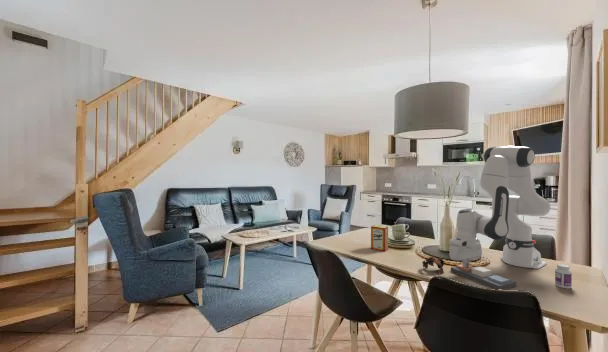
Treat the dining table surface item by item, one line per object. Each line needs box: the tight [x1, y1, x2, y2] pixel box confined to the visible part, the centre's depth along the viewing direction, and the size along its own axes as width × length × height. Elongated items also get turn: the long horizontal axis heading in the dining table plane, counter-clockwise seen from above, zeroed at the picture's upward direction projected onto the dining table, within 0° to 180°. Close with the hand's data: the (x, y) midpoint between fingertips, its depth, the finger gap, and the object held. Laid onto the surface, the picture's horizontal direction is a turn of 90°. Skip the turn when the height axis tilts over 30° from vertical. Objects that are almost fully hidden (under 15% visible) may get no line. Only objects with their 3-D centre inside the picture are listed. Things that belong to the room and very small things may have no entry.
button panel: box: [450, 265, 517, 290], centre depth 127 cm, size 12×24×2 cm, turn 22°
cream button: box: [472, 266, 492, 278], centre depth 127 cm, size 6×6×3 cm
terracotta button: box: [456, 264, 475, 272], centre depth 135 cm, size 6×6×3 cm
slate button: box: [488, 274, 509, 284], centre depth 120 cm, size 6×6×3 cm
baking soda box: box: [370, 224, 389, 252], centre depth 175 cm, size 10×6×16 cm
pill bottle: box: [554, 263, 573, 289], centre depth 118 cm, size 5×5×10 cm
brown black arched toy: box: [421, 256, 445, 275], centre depth 137 cm, size 12×10×8 cm
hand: (465, 266), depth 134 cm, fingers closed, pressing on terracotta button
